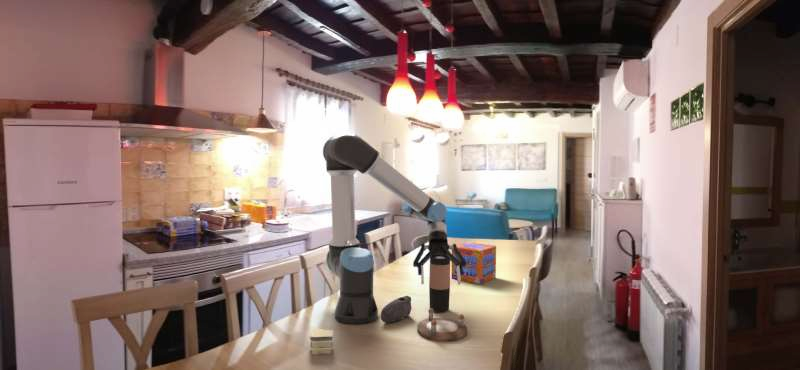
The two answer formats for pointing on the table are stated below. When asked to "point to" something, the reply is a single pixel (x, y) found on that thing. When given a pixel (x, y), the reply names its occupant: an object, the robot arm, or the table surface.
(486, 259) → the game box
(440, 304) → the travel mug
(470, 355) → the table surface
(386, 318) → the perforated stone tool
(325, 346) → the beige layered block
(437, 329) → the brown round pegged stand
